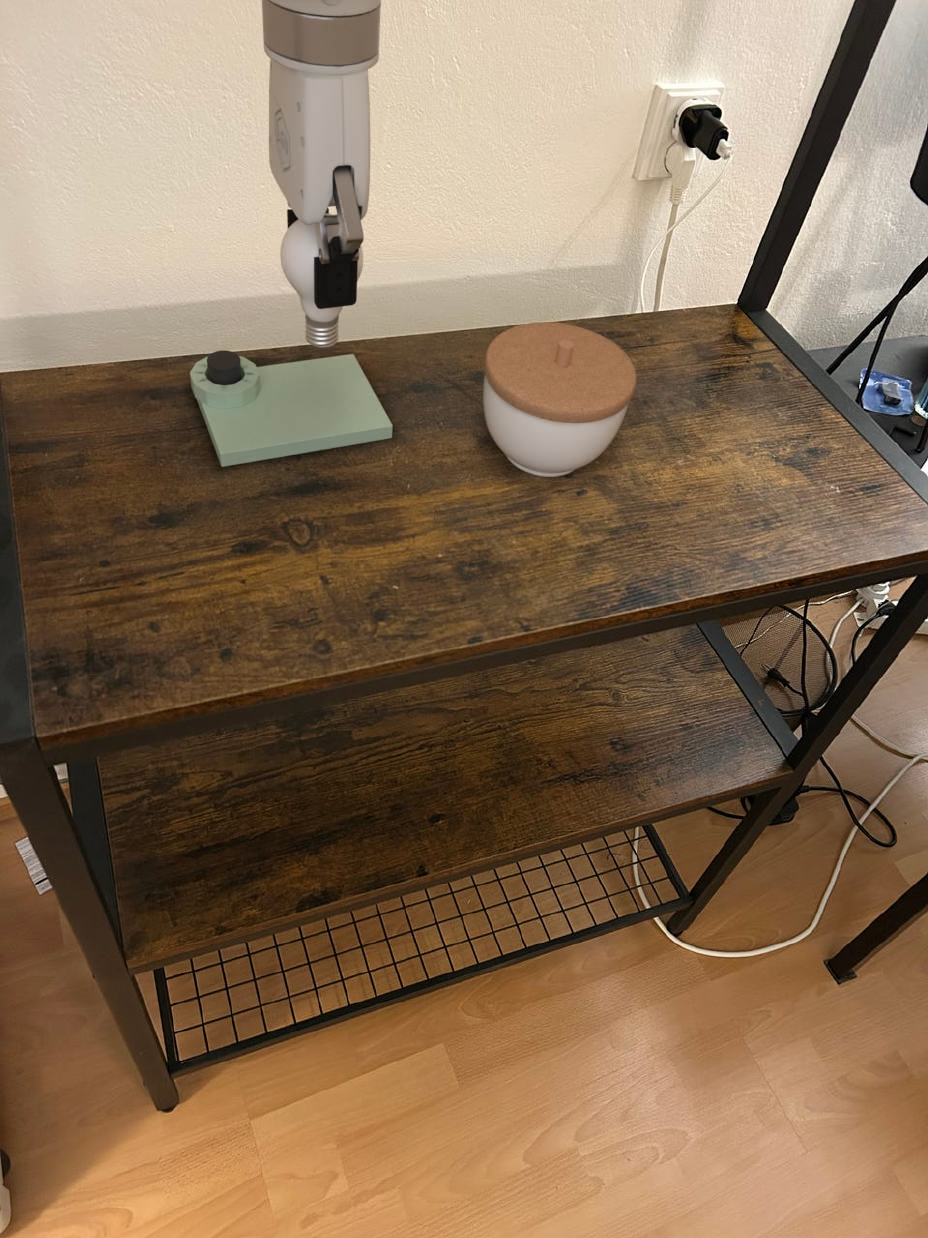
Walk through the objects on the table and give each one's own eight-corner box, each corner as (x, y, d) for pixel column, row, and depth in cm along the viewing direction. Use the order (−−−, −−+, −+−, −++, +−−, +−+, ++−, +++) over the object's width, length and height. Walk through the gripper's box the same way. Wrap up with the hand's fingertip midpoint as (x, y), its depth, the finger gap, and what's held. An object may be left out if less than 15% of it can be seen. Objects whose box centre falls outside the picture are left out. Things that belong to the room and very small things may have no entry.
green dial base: (217, 467, 80) (214, 439, 78) (188, 387, 87) (184, 358, 85) (392, 438, 85) (393, 410, 83) (351, 364, 92) (352, 336, 90)
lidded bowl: (454, 414, 89) (468, 306, 80) (580, 400, 92) (606, 295, 84) (499, 507, 81) (520, 398, 73) (635, 488, 85) (669, 382, 76)
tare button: (212, 388, 83) (210, 371, 82) (205, 369, 85) (203, 352, 83) (245, 383, 84) (243, 366, 82) (237, 365, 85) (236, 348, 84)
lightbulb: (318, 314, 84) (317, 188, 75) (375, 344, 82) (381, 218, 73) (267, 344, 80) (260, 215, 72) (326, 376, 78) (326, 247, 70)
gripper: (232, -19, 67) (247, 230, 80) (303, 85, 57) (306, 349, 70) (337, -19, 69) (334, 222, 82) (422, 80, 59) (403, 336, 73)
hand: (321, 278), depth 76 cm, fingers closed on lightbulb, 6 cm apart
